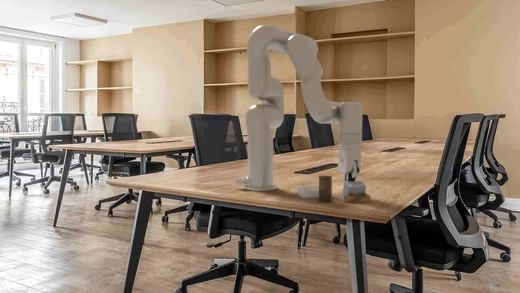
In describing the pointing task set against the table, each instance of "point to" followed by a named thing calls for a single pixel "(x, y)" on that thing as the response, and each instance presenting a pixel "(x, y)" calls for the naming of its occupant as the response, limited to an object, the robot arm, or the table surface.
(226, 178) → the table surface
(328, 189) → the dowel
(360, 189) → the pale blue block
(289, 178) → the table surface
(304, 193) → the tray
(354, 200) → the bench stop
